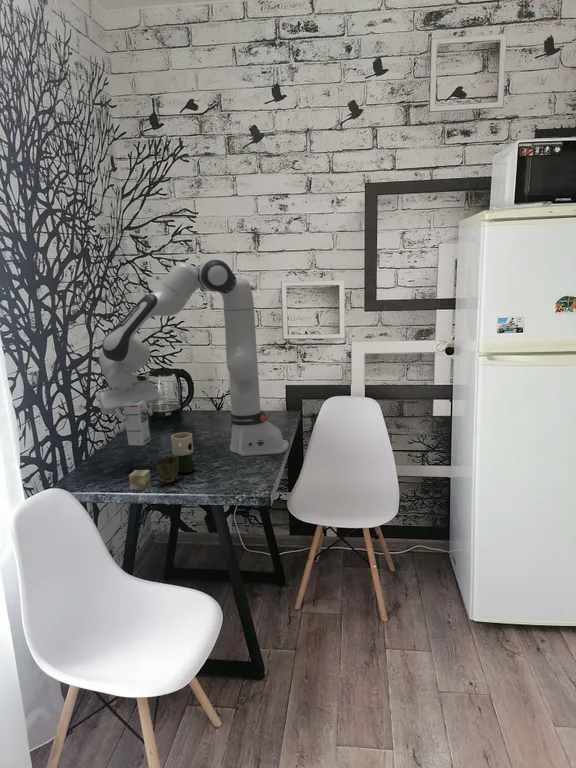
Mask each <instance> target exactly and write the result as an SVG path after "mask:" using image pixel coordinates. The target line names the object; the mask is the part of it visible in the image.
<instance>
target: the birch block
mask: <svg viewBox="0 0 576 768" xmlns="http://www.w3.org/2000/svg"><path fill="white" fill-rule="evenodd" d="M151 477H152V476H151V469H134V470H133V471H132V472H131V473H130V474H129V475H128V481H129V489H146V488H147V487H148V486H149V485H150V484H151V485H152V478H151ZM151 485H150V486H151ZM150 486H149V487H150ZM149 487H148V488H149ZM148 488H147V489H148ZM147 489H146V490H147Z"/></svg>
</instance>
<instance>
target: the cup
mask: <svg viewBox="0 0 576 768" xmlns="http://www.w3.org/2000/svg"><path fill="white" fill-rule="evenodd" d="M176 456H177V455H173V454H172V455H170V456H169V455H166V456H165V458H163V457H161V456H160V457H159V458H156V460H155V461H154V463H155V466H156V471H157V474H158V476H159V477H160V478H161V479H162V480H163V483H164V484H165V483H171V484H173V483H174V482H175V481H176V480H175V479H176V477H177V475H178V474H179V472H178V464H179V458H178V457H177V458H176ZM172 482H173V483H172Z"/></svg>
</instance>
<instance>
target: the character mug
mask: <svg viewBox="0 0 576 768" xmlns="http://www.w3.org/2000/svg"><path fill="white" fill-rule="evenodd" d="M170 440H171V449H172V451H171V452H172V456H176V458H177V457H178V458H179V464H178V473H183V474H185V473H191V472H192V471H194V469H195V465H194V462H193V458H192V455H191V454H192V453H194V443H193V434H192V433H191V432H187V431H186V432H178V433H177V432H176V433H173V434H172V435H170ZM184 472H185V473H184Z"/></svg>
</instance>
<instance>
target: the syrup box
mask: <svg viewBox="0 0 576 768" xmlns="http://www.w3.org/2000/svg"><path fill="white" fill-rule="evenodd" d="M123 406H124V411H123V412H124V413H123V415H125V417H126V418H127V420H126V421H125V428H126V435H127V437H126V438H127V442H128V446H144V445H145V444H147V443H149V442H151V440H152V437H151V431H150V422H149V420H150V419H149V416H148V412H147V410H148V408H147V404H146V400H135V401H131V402H128V403H126V404H124V405H123Z"/></svg>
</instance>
